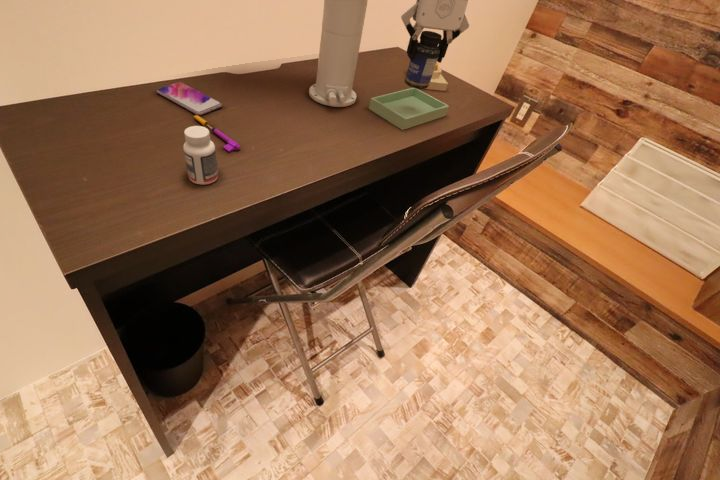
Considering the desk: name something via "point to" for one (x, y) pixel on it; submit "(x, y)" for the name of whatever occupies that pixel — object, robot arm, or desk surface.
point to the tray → (408, 108)
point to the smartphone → (189, 98)
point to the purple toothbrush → (231, 143)
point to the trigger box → (437, 81)
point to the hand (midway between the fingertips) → (424, 58)
